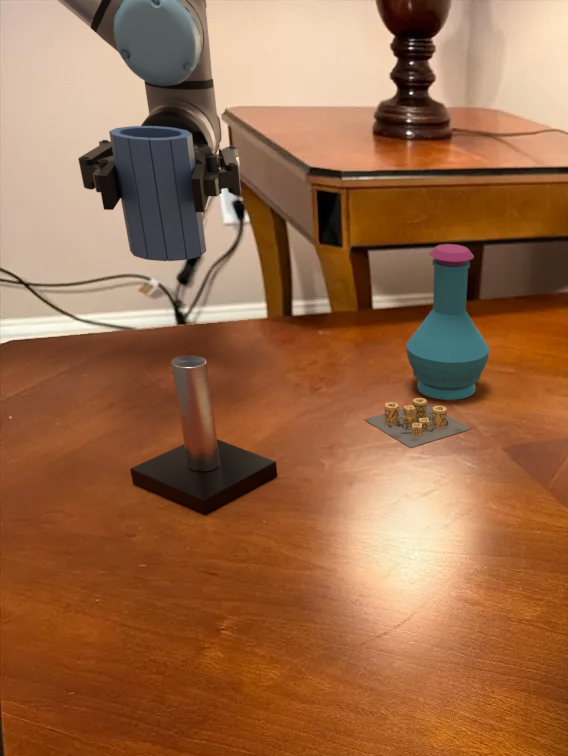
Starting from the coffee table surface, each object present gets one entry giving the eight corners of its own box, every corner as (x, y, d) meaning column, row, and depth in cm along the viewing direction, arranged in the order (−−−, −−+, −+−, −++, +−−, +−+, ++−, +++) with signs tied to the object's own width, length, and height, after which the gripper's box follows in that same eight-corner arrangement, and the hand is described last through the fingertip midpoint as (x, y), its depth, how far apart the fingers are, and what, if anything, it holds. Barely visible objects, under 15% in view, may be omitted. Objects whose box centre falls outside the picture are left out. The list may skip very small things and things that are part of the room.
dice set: (381, 421, 91) (381, 404, 90) (420, 410, 94) (420, 393, 92) (411, 439, 88) (411, 421, 87) (449, 427, 91) (450, 410, 90)
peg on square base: (132, 483, 77) (107, 363, 71) (207, 448, 84) (190, 334, 77) (205, 515, 74) (186, 391, 67) (277, 476, 80) (267, 359, 73)
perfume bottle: (438, 411, 94) (443, 265, 85) (390, 382, 99) (389, 242, 90) (502, 393, 99) (514, 254, 89) (453, 367, 104) (459, 233, 95)
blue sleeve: (115, 251, 82) (93, 130, 76) (170, 238, 87) (153, 123, 81) (167, 265, 80) (148, 142, 74) (220, 251, 84) (206, 134, 78)
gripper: (274, 188, 98) (271, 242, 80) (87, 181, 94) (40, 237, 76) (268, 110, 93) (264, 150, 75) (71, 101, 89) (18, 140, 72)
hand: (151, 194), depth 76 cm, fingers closed on blue sleeve, 7 cm apart
